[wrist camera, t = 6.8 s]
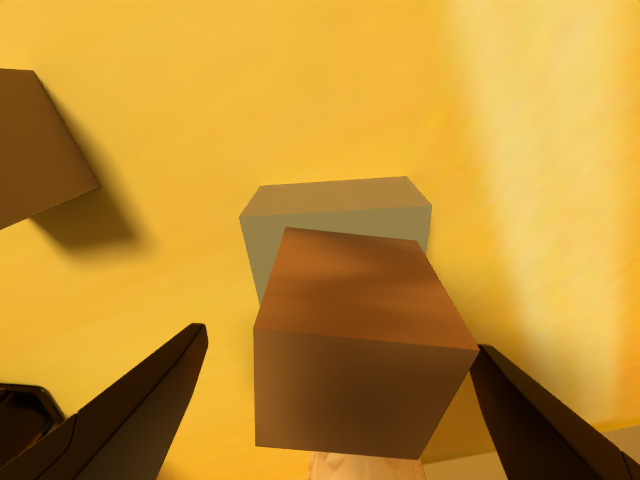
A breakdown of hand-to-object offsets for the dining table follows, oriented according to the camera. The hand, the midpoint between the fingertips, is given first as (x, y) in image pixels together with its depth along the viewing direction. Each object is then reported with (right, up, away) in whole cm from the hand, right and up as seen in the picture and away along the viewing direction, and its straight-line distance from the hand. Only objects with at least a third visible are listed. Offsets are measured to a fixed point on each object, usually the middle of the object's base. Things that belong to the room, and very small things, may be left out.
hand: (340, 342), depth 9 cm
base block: (0, +3, +6) cm, 7 cm away
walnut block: (0, +1, +2) cm, 3 cm away
